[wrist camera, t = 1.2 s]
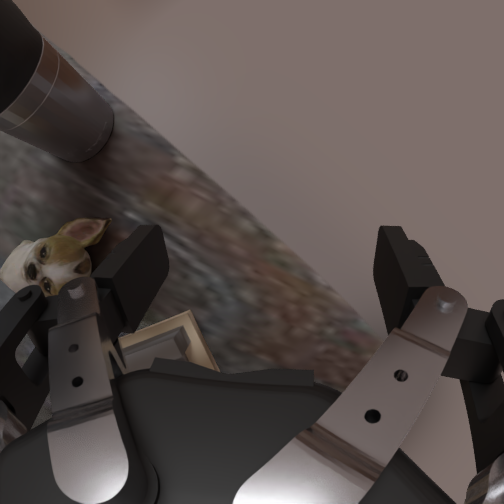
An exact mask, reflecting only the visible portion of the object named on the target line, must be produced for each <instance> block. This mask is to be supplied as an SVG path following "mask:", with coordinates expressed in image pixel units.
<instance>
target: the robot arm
mask: <svg viewBox="0 0 504 504" xmlns="http://www.w3.org/2000/svg"><path fill="white" fill-rule="evenodd" d="M112 127H113V112H112V109H111V107H110V105H109V104H108V103H107V102H106V101H105V100H104V99H103V98H102V97H101V96H100V95H99V94H98V92H97V91H96V90H95V89H94V88H93V87H92V86H91V85H90V84H89V83H88V82H87V81H86V80H85V79H84V78H83V77H82V76H81V75H80V74H79V73H78V72H77V71H76V70H75V69H74V68H73V67H72V66H71V65H70V64H69V62H68V61H67V60H66V59H65V58H64V57H63V56H62V55H61V54H60V53H59V52H58V51H57V50H56V49H55V48H54V47H53V46H52V45H51V44H50V43H49V42H48V41H47V40H46V39H45V38H44V37H43V36H42V35H41V34H40V33H39V32H38V31H37V30H36V29H35V28H34V27H33V26H32V25H31V23H30V22H29V21H28V20H27V18H26V17H25V16H24V14H23V13H22V12H21V10H20V9H19V8H18V7H17V6H16V4H15V3H14V2H13V1H12V0H0V131H3V132H5V133H7V134H9V135H11V136H14V137H16V138H18V139H20V140H22V141H25V142H27V143H29V144H31V145H33V146H36V147H38V148H40V149H42V150H44V151H46V152H49V153H51V154H53V155H55V156H57V157H59V158H62V159H64V160H66V161H69V162H82V161H85V160H87V159H89V158H91V157H92V156H94V155H95V154H96V153H98V152H99V151H100V150H101V149H102V147H103V146H104V145H105V144H106V142H107V140H108V138H109V136H110V134H111V131H112ZM168 272H169V258H168V254H167V250H166V246H165V241H164V237H163V232H162V229H161V227H160V226H159V225H140V226H138V227H137V229H136V230H135V231H134V232H133V233H132V234H131V235H130V236H129V237H128V238H127V239H125V240H124V241H122V242H121V243H119V244H118V245H117V246H116V247H115V248H114V249H113V250H112V251H111V253H110V254H109V255H108V256H107V257H106V259H104V260H103V261H102V263H101V264H100V265H99V266H98V267H97V268H96V269H95V271H94V272H93V273H92V274H91V275H90V276H89V277H85V276H84V277H78V278H75V279H73V280H71V281H69V282H67V283H66V284H65V285H63V286H62V287H61V289H60V290H59V292H58V295H53V296H47V297H45V295H44V293H43V291H42V289H41V287H40V286H39V285H29V286H26V287H24V288H22V289H21V290H19V291H18V292H17V293H16V294H15V295H14V296H13V297H12V298H11V299H10V300H9V302H8V303H7V304H6V305H5V306H4V308H3V309H2V310H1V311H0V504H456V503H455V502H454V501H453V500H452V499H451V498H450V497H449V496H448V495H447V494H446V493H445V492H444V491H443V490H442V489H441V488H440V487H439V486H438V485H437V484H435V482H434V481H432V480H431V479H430V478H429V477H428V476H427V475H426V474H425V473H424V472H423V471H422V470H421V469H420V468H419V467H418V466H417V465H416V464H415V463H414V462H413V461H412V460H411V459H410V458H409V457H408V456H407V455H406V454H405V453H404V452H403V451H402V450H401V449H400V448H399V447H400V445H401V443H402V442H403V440H404V439H405V437H406V436H407V434H408V433H409V431H410V429H411V428H412V426H413V424H414V423H415V421H416V419H417V418H418V416H419V414H420V413H421V411H422V409H423V407H424V405H425V403H426V402H427V400H428V398H429V396H430V394H431V393H432V391H433V389H434V387H435V385H436V383H437V380H438V379H439V377H440V375H441V376H446V377H451V378H456V379H460V383H461V387H462V391H463V395H464V400H465V405H466V409H467V414H468V418H469V424H470V430H471V435H472V441H473V448H474V454H475V462H476V469H477V475H476V476H475V477H474V478H473V479H472V480H471V482H470V484H469V486H468V489H467V494H466V499H465V504H504V382H503V379H502V376H501V372H502V371H503V372H504V300H498V301H496V302H495V303H494V304H493V307H492V308H491V310H490V312H485V311H480V310H475V309H471V308H468V304H467V301H466V300H465V298H464V297H463V296H462V295H461V294H460V293H459V292H458V291H456V290H454V289H452V288H449V287H446V286H445V285H444V283H443V281H442V280H441V278H440V276H439V274H438V272H437V270H436V269H435V267H434V265H433V264H432V261H431V260H430V258H429V256H428V254H427V253H426V251H425V249H424V248H423V247H422V246H421V245H420V244H418V243H417V242H416V241H414V240H408V238H407V236H406V234H405V233H404V231H403V229H402V227H401V226H380V228H379V231H378V238H377V245H376V252H375V259H374V268H373V276H374V282H375V286H376V289H377V293H378V297H379V300H380V304H381V308H382V312H383V316H384V320H385V324H386V328H387V332H388V337H387V338H386V339H385V341H384V342H383V344H382V345H381V346H380V347H379V349H378V350H377V351H376V353H375V354H374V355H373V357H372V358H371V359H370V360H369V362H368V363H367V364H366V365H365V367H364V368H363V369H362V370H361V372H360V373H359V374H358V375H357V377H356V378H355V379H354V380H353V381H352V383H351V384H350V385H349V386H348V387H347V388H346V390H345V391H344V392H343V393H341V392H340V391H338V390H336V389H333V388H331V387H329V386H326V385H323V384H320V383H316V382H313V381H314V370H292V369H267V370H260V371H253V372H245V373H237V374H225V373H221V372H218V371H215V370H212V369H209V368H206V367H204V366H201V365H198V364H195V363H192V362H187V361H179V360H172V359H164V358H158V357H155V358H154V361H153V363H152V365H151V367H150V368H147V369H141V370H136V371H132V372H130V371H129V367H128V364H127V361H126V358H125V354H124V351H123V347H122V344H121V341H120V339H119V337H118V336H119V334H120V332H124V333H131V334H134V333H135V331H136V329H137V327H138V325H139V324H140V322H141V320H142V318H143V317H144V315H145V313H146V311H147V310H148V308H149V306H150V304H151V303H152V301H153V299H154V297H155V296H156V294H157V292H158V291H159V289H160V287H161V285H162V284H163V282H164V280H165V279H166V277H167V275H168ZM26 334H28V336H29V337H30V339H31V341H32V342H33V344H34V345H35V348H34V350H33V351H32V353H31V355H30V356H29V358H28V359H27V361H26V362H25V364H24V366H23V367H22V369H21V367H20V366H19V364H18V363H17V361H16V358H15V351H16V348H17V347H18V345H19V344H20V342H21V341H22V339H23V338H24V336H25V335H26ZM49 391H50V398H51V409H52V418H50V419H49V420H47V421H45V422H44V423H42V424H40V425H38V426H37V427H35V428H33V429H32V430H30V429H31V427H32V425H33V423H34V421H35V419H36V417H37V415H38V413H39V411H40V409H41V407H42V405H43V403H44V401H45V399H46V397H47V395H48V393H49Z"/></svg>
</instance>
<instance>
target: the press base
mask: <svg viewBox="0 0 504 504" xmlns="http://www.w3.org/2000/svg"><path fill="white" fill-rule="evenodd" d="M119 339H120V341H121V344H122V347H123V351H124V354H125V358H126V361H127V364H128V367H129V371H130V372H132V371H136V370H141V369H147V368H150V367H151V365H152V363H153V361H154V358H155V357H158V358H164V359H172V360H179V361H187V362H192V363H195V364H198V365H201V366H204V367H206V368H209V369H212V370H215V371H218V372H220V370H219V368H218V366H217V364H216V362H215V360H214V358H213V356H212V354H211V352H210V350H209V348H208V346H207V344H206V342H205V340H204V337H203V335H202V333H201V331H200V329H199V327H198V325H197V323H196V321H195V318H194V316H193V314H192V312H191V310H188V311H186V312H183V313H181V314H178V315H176V316H173V317H171V318H168V319H166V320H163V321H161V322H158V323H156V324H153V325H151V326H148V327H146V328H143V329H141V330H138V331H136V332H135V333H134V334H128V335H125V336H123V337H120V338H119Z"/></svg>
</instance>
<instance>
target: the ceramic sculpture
mask: <svg viewBox="0 0 504 504" xmlns="http://www.w3.org/2000/svg"><path fill="white" fill-rule="evenodd" d="M111 221H112V219H111V218H77V219H75V220H73V221H70V222H67V223H65V224H64V225H63V226H62V227H61V229H60V230H59V232H58V233H57V234H56V235H54V236H51V237H49V238H41V239H38V240H37V241H35V242H32V241H29V240H25V241H22V243H21V244H20V245H19V246H18V247H17V248H15V249H14V251H13V252H12V253H11V254H10V256H9V257H8V258H7V260H6V261H5V263H4V265H3V266H2V268H1V269H0V280H2V281H3V282H4V283H5V284H6V285H7V286H8V287H9V288H10V289H11V290H13V291H14V292H15V293H17V292H18V291H19V290H21V289H22V288H24V287H26V286H29V285H39V286H40V287H41V289H42V291H43V293H44V295H45V297H47V296H53V295H58V292H59V290H60V289H61V287H62V286H63V285H65V284H66V283H67V282H69V281H71V280H73V279H75V278H78V277H84V276H85V277H89V276H90V274H91V265H92V264H91V260H90V256H89V254H88V252H87V251H86V250H85V249H84V248H85V247H87V246H91V245H95V244H96V243H98V242H99V241H100V239H101V237H102V236H103V234H104V232H105V230H106V229H107V227H108V226H109V224H110V223H111Z"/></svg>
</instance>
